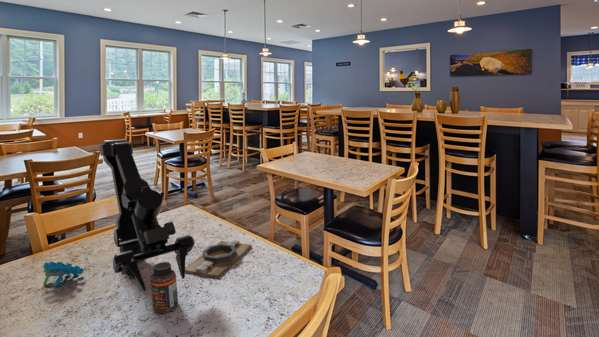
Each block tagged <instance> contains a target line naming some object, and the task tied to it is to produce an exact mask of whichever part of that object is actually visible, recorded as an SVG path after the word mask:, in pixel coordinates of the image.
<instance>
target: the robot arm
mask: <svg viewBox="0 0 599 337" xmlns="http://www.w3.org/2000/svg"><path fill="white" fill-rule="evenodd" d="M133 149H134V148H133V142H131V141H129V142H128V141H127V140H126V139H125V138H122V139H121V138H120V139H111V140H110V139H109V140H108V139H107V140H103V141H102V144H101V143H100V144H99V153H100V156H102V157H103V161H104V163H105V164H106V165H107V167H109V168H110V169H111V176H112V180H113V185H114V191H115V197H116V202H117V207H118V216H117V218H116V220H115V224H114V225H115V228H114V232H113V241H114V244H115V245H116V247H117V248H119V252H118V253H115V255H114V256H113V261H112V266H113V271H114V273H115V274H119V273H120V274H121V275H122V276H123V275H127V276H128V278H131V280H133V281H134V283H136V285H137V286H138V288H140V289H141V290H142V292H143V293H146V291H147V289H146V284H145V282H144V279H143V277H142V275H141V272H140V269H139V266H138V262H141V261H145V260H148V259H153V258H155V257H159V256H161V255H166V254H169V253H172V252H173V253H174V254H176V256H175V260H176V264H177V267H178V272H179V274H180V277H181V279H182V280H184V279H185V278H186V273H185V268H186V257H187V256H188V254H189V253H190V252H191V251H192V249H193V247H194V245H195V244H196V243H195V240H194V237H193V236H192V235H190V234H188V235H185V236H181V237H180V236H179V237H177V238H176V239H175V242H174V243H171V244H168V242H169V241H168V240H170V236H173V235H175V234H176V227H175V224H174V222H173V221H169V222H166V223H163V226H162V225H161V224H160V223H159V220H158V216H159V214H160V211H161V209H162V204H163V200H164V199H163V196H162V194H161V193H160V192H158V191H156V190H154V189H152V188H151V186H150V185H149V182H148V181H146V180H145V179H144V178H142V177H141V175H140V173H139V169H138V167H137V164H136V161H135V158H134V156H133V154H134V150H133ZM166 244H168V245H166Z"/></svg>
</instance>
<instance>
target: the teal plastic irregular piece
mask: <svg viewBox="0 0 599 337" xmlns="http://www.w3.org/2000/svg"><path fill="white" fill-rule="evenodd" d="M42 268H43V271H42V272H43V273H45V274H44V275H45V278H44V281H43V283H42V284H43V285H47V283H48V281H49V278H50V277H57V279H56V281H55V284H54V287H59V286H60V284H61V281H62V279H63V277H64V276H65V275H71V274H72V275H74V276H78V275H83V273H84V271H85V269H84V268H83V267H82V268H81V266H79V265H74V266H73V264H72V263H68V262H67V263H66V264H65V263H64V262H62V261H57V262H54V261H49V262H44V264H43V267H42Z"/></svg>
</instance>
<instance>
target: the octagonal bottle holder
mask: <svg viewBox="0 0 599 337" xmlns="http://www.w3.org/2000/svg"><path fill="white" fill-rule="evenodd" d="M252 247H253V246H252V244H247V243H241V242H240V240H236V239H235V240H234V239H232V240H230V241H224V240H221V241H219V242H218V243H216V244H214V245H209V246H208V247H207V248H205V249H203V250H202V251H201V252H202V254H201V255H200V256H199V257H198V258H196V259H195V260H193V261H192V262H190V264H188V265H187V266H185V274H192V275H198V276H202V277H203V276H204V277H208V278H214V279H219V278H220V277H221V276H222V275H223V274H224V273H225V272H226V271H228V269H230V268H231V267H232V266H233V265H234V264H235V263H236V262H238V260H239V259H240V258H242V256H244V255H245V254H246V253H247V252H248V251H249V250H250V249H251V248H252Z"/></svg>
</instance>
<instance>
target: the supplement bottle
mask: <svg viewBox="0 0 599 337" xmlns="http://www.w3.org/2000/svg"><path fill="white" fill-rule="evenodd" d="M149 283H150V293H151V303H152V310H153V311H154V312H155V313H157V314H166V313H170V312H171V311H173V310H175V309H176V308H177V306H179V297H178V296H179V295H178V286H177V284H178V283H177V275H176V271H174V270H173V269H172V264H171V263H170V262H168V261H163V262H158V263H156V264H155V265H154V266H153V273H152V274H151V275H150V277H149Z"/></svg>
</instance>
